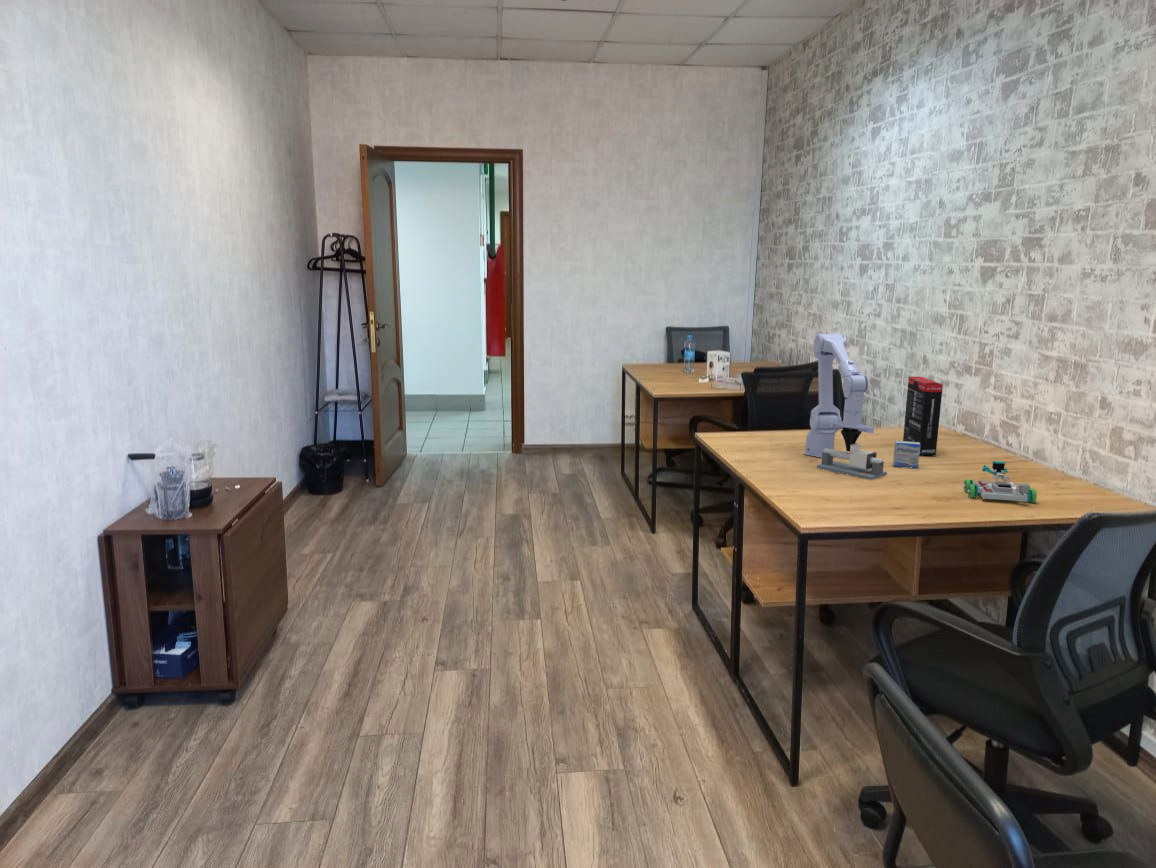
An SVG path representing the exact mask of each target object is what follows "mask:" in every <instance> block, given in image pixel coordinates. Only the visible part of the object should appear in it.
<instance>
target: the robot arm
mask: <svg viewBox="0 0 1156 868" xmlns="http://www.w3.org/2000/svg"><path fill="white" fill-rule="evenodd" d="M847 339H848V338H847V336H846V335H845V333H817V335H816V336H815V338H814V341H813V355H814V357H815V358H816V359H817V365H818V366H817V367H818V368H817V372H818V375H817V377H818V378H817V381H818V383H817V384H818V404H817V405H816V406H815V407H813V408H812V409H811V411H810V418H809V427H810V430H808V431H807V435H806V437H805V438H806V439H805V452H804V453H803V455H805V456H811V457H815V456H816V457H817V458H820V457H821V459H822V453H823V452H824V449H825V448H827V449H832V450H835V449H834V448H835V439H836V438H835V437H836V433H838V431H839V430H840V429H842V430H840V433H841V435H842V437H843V441H844V444H845V449H846V451H845V452H848V453H850V446H851V445H852V444H855V443H857V440H858V439H859V437H860V436H861V434H862V433H867V434H873V433H874V431H875V430H874V429H875V427H874V426H871V425H867V424H863V423H862V418H863V417H862V416H863V407H864V406H863V405H864V396H865V395H864V394H865V392H867V390H868V388H869V380H868V377H867V375H866V374H863V373H861V372H860V369H859V368H858V367H857V364H856V361H854V360H852V359H851V358H850V357H849V354H848V352H847V343H848V341H847ZM834 359H835V360H836V361H837V363H838V365H837V369H838V372H839V373H840V377H841V378H842V380H843V382H842V388H843V397H844V407H843V420H842V417H841V411H840V409H839V408H838V407H837V406H836V405H835V404H834V386H833V385H834V383H833V382H834V378H833V377H834V376H833V375H834V374H833V373H834V372H833V370H834V369H833V361H834Z"/></svg>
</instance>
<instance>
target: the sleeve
mask: <svg viewBox="0 0 1156 868" xmlns="http://www.w3.org/2000/svg"><path fill="white" fill-rule="evenodd" d="M873 452H874V451H869V450H863V449H861V442H856V443H855V444H852V445H851V446H850V452H849V453H850V457H849V460H848V464H849V465H850V466H855V467H860V468H865V469H866V464H867V455H868V454H870V453H873ZM871 457H873V456H871ZM870 465H872V464H870Z"/></svg>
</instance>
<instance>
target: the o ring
mask: <svg viewBox="0 0 1156 868" xmlns="http://www.w3.org/2000/svg"><path fill="white" fill-rule="evenodd" d="M872 452H873V453H870V454H868V455H867V464H866V469H872V465H870V457H871V456H873V457H874V458H877V456H878V455H877V452H876V451H872Z"/></svg>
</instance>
